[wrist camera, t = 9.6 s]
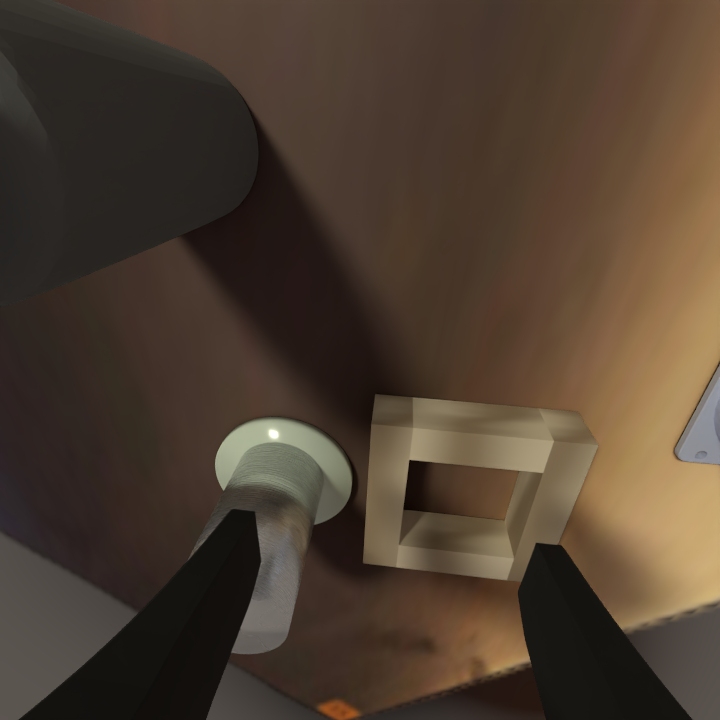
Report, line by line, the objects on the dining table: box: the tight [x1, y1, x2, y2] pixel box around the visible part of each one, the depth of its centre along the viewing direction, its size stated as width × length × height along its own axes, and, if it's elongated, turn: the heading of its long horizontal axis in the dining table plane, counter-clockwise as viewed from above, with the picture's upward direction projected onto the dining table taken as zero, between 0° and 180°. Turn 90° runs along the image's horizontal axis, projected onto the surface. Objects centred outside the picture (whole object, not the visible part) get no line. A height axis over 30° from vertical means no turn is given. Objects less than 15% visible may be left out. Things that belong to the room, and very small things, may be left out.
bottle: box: [0, 0, 259, 307], centre depth 10 cm, size 6×6×15 cm
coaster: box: [215, 417, 353, 525], centre depth 24 cm, size 8×8×1 cm
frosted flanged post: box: [188, 442, 324, 654], centre depth 20 cm, size 5×5×8 cm
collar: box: [363, 394, 599, 582], centre depth 22 cm, size 10×10×2 cm
